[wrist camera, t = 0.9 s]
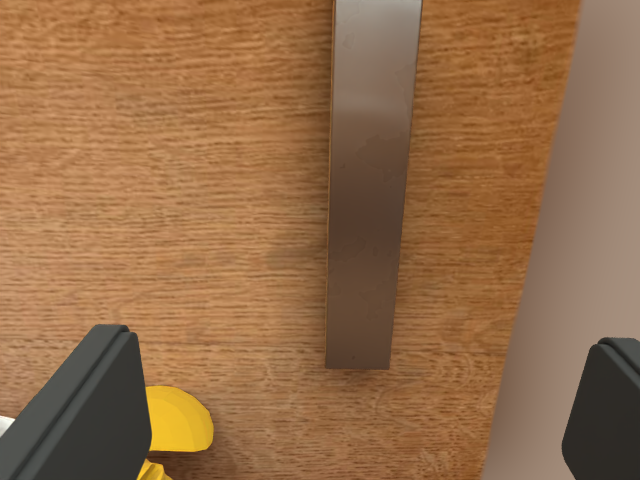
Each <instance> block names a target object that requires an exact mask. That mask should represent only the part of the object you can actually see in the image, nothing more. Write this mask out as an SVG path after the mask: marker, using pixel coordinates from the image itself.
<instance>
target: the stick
mask: <svg viewBox="0 0 640 480" xmlns="http://www.w3.org/2000/svg"><path fill="white" fill-rule="evenodd" d="M422 6H423V0H333V14H332V57H331V99H330V141H329V183H328V225H327V267H326V309H325V368H327V369H378V370H388V369H389V366H390V355H391V345H392V334H393V323H394V312H395V301H396V290H397V279H398V268H399V257H400V246H401V235H402V224H403V214H404V203H405V192H406V181H407V170H408V159H409V148H410V137H411V126H412V115H413V104H414V93H415V82H416V72H417V61H418V50H419V39H420V28H421V17H422Z"/></svg>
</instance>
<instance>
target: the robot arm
mask: <svg viewBox="0 0 640 480" xmlns="http://www.w3.org/2000/svg"><path fill="white" fill-rule="evenodd" d="M151 441H152V428H151V421H150V415H149V408H148V402H147V395H146V388H145V382H144V375H143V368H142V362H141V355H140V348H139V342H138V337H137V334H136V333H134V332H130V331H129V329H128V327H127V326H126V325H105V324H98V325H95V326H94V327H93V328H92V329H91V330H90V331H89V333H88V334H87V335H86V336H85V337H84V339H83V340H82V341H81V342H80V343H79V345H78V346H77V347H76V348H75V349H74V351H73V352H72V353H71V354H70V355H69V357H68V358H67V359H66V360H65V361H64V363H63V364H62V365H61V366H60V368H59V369H58V370H57V371H56V372H55V374H54V375H53V376H52V377H51V378H50V380H49V381H48V382H47V383H46V384H45V386H44V387H43V388H42V389H41V390H40V392H39V393H38V394H37V395H36V396H35V397H34V398H33V399H32V400H31V401H30V402H29V404H28V405H27V406H26V407H25V408H24V410H23V411H22V412H21V413H20V414H19V416H18V417H17V418H16V419H15V420H14V422H13V423H12V424H11V425H10V426H9V428H8V429H7V430H6V431H5V432H4V434H3V435H2V436H1V437H0V480H137V478H138V475H139V473H140V471H141V468H142V466H143V464H144V462H145V459H146V457H147V455H148V452H149V450H150V446H151ZM562 454H563V457H564V460H565V462H566V464H567V466H568V467H569V469H570V471H571V472H572V474H573V475H574V477H575V479H576V480H640V342H639V341H638V340H636V339H633V338H608V337H607V338H602V339H601V340H599V341H598V344H595V345H593V346H592V347H591V348H590V350H589V353H588V356H587V360H586V363H585V367H584V370H583V374H582V377H581V380H580V383H579V387H578V390H577V394H576V397H575V401H574V404H573V407H572V410H571V414H570V417H569V420H568V424H567V427H566V430H565V434H564V437H563V441H562Z"/></svg>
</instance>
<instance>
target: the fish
mask: <svg viewBox="0 0 640 480" xmlns="http://www.w3.org/2000/svg"><path fill="white" fill-rule="evenodd" d="M145 388H146V395H147V402H148V408H149V415H150V421H151V428H152V441H151V446H150V450H161V451H191V452H195V451H200V450H205V449H207V448H208V447H209V446H210V444H211V443H212V441H213V431H214V426H213V423H212V420H211V417H210V414H209V411H208V410H207V409H206V408H205V407H204V406H203V405H202V404H201V403H200V402H199V401H198V400H197V399H196V398H195V397H193V396H192V395H190V394H188V393H186V392H184V391H182V390H181V389H179V388H176V387H169V386H162V385H158V386H151V387H145ZM14 420H15V419H13V418H9V417H4V416H0V437H1V436H2V435H3V434H4V432H5V431H6V430H7V429H8V428H9V426H10V425H11V424H12V423H13V422H14ZM150 450H149V451H150ZM137 480H173V479H171V478H170V477H169V476H167V475H166V474H165V472H164V468H163V465H161V464H157V463H151V462H149V461H148V460H147V459H145V462H144V464H143V466H142V468H141V471H140V473H139V475H138V478H137Z"/></svg>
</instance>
